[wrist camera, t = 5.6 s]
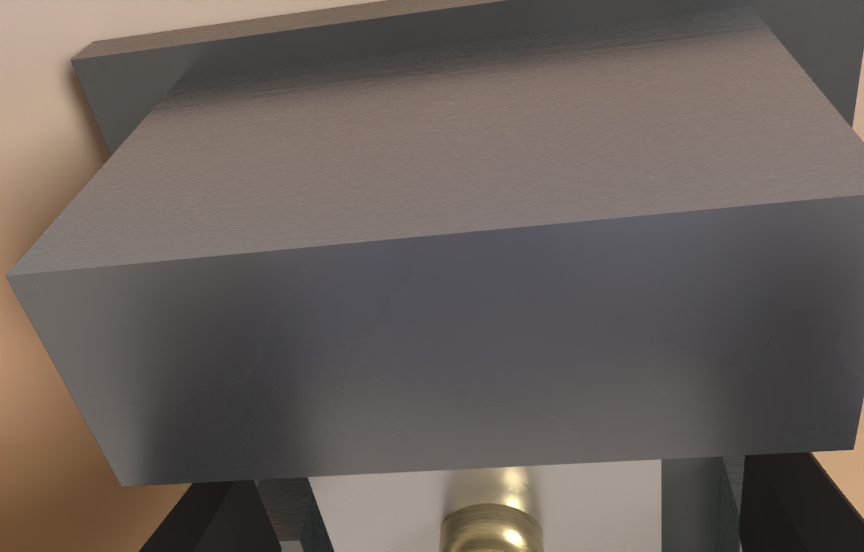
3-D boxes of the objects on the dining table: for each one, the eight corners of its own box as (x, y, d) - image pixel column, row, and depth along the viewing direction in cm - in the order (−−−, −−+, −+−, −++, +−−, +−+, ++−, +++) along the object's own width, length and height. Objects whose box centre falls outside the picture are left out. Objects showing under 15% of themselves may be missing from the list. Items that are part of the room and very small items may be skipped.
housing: (628, 430, 15) (673, 695, 11) (393, 444, 16) (355, 698, 12) (620, 226, 13) (676, 473, 9) (343, 253, 13) (270, 492, 9)
